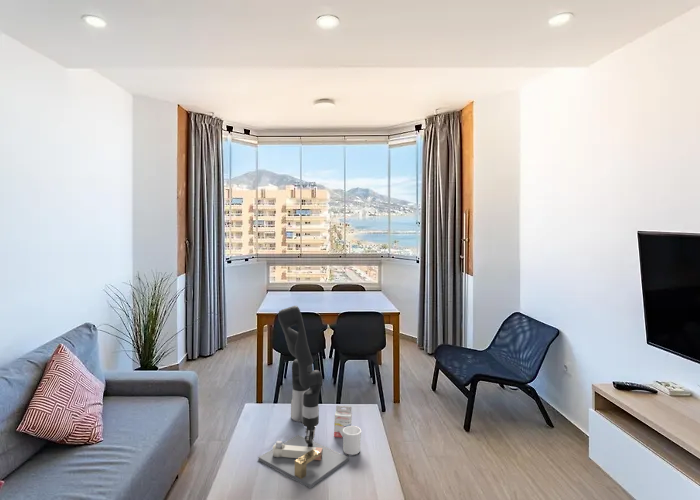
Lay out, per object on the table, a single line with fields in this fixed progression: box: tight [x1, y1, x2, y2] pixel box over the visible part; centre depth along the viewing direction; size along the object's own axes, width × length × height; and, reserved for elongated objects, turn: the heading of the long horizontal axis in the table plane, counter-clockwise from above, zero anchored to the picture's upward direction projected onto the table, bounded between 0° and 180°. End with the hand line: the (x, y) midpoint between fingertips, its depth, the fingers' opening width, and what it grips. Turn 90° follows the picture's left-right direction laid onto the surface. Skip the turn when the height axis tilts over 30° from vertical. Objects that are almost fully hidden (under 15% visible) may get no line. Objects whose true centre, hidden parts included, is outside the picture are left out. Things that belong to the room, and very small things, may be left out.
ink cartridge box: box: [333, 405, 353, 439], centre depth 210 cm, size 9×5×15 cm, turn 84°
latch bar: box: [272, 440, 323, 460], centre depth 188 cm, size 23×6×6 cm, turn 83°
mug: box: [342, 425, 362, 456], centre depth 197 cm, size 11×9×10 cm
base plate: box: [258, 434, 350, 489], centre depth 188 cm, size 32×26×2 cm
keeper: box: [295, 449, 320, 479], centre depth 177 cm, size 4×12×8 cm, turn 143°
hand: (310, 449), depth 191 cm, fingers closed
